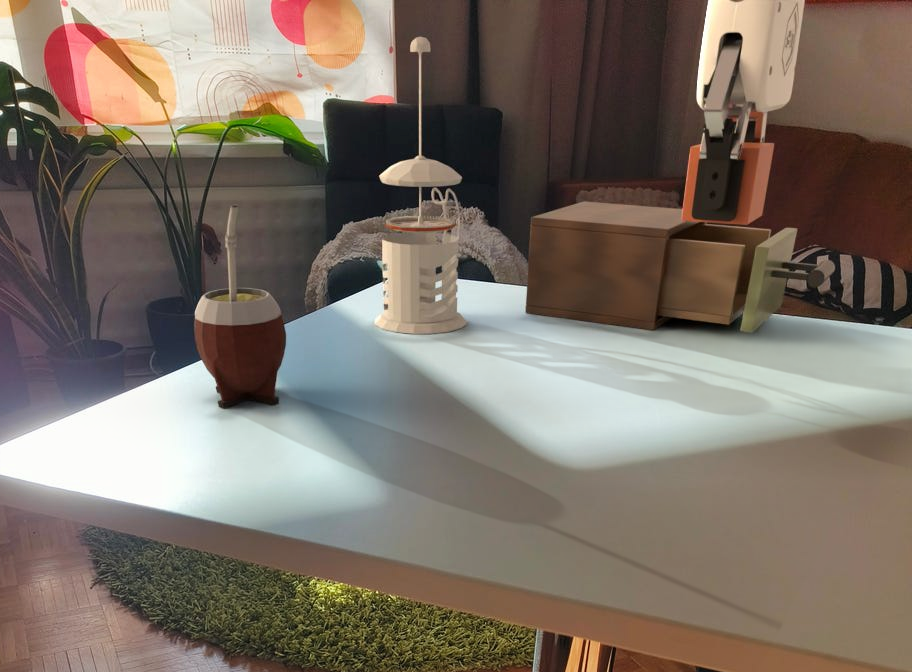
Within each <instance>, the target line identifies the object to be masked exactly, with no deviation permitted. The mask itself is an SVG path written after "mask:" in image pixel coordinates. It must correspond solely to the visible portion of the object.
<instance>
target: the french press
mask: <svg viewBox="0 0 912 672" xmlns="http://www.w3.org/2000/svg"><path fill="white" fill-rule="evenodd" d="M410 52H411V53H417V54H418V155H417V156H415V157H414V158H411V159H406V160H401V161H398V162H397V163H394V164H392V165H391V166H389V167H388V168H387V169H385V170H384V171H383V172H382V173H380V175H379V176H378V177H379V180H380V182H381V183H382V184H385V185H389V186H398V187H413V188H414V187H418V190H419V191H418V193H419V194H418V196H419V198H418V199H419V200H418V202H419V205H418V211H419V215H417V216H416V215H403V216H394V217H391V218H387V219H386V220H385V221H384V224H385V227H386V228H387V229H391V230H394V231H397V232H398V233H397V232H396V233H391V234H386V235H384V236H382V238H381V239H382V241H381V242H382V243H381V244H382V246H381V247H382V248H381V250H382V257H381V258H382V278H383V279H382V289H383V293H382V294H383V311H382V312H380V313H379V315H378V316H377V317H376V318H375V319H374V326H375V327H376V326H377V328H380V329H381V330H386V331H390V332H393V333H402V334H410V335H411V334H412V335H425V334H427V335H428V334H429V335H430V334H431V335H432V334H440V333H441V334H442V333H447V332H452V331H456V330H460V329H462V328H464V327H465V326H466V325H467V324H468V323H467V321H466V319H465V318H464V316H463V315H462V314H461V313H460V312H459V311H458V297H457V293H458V291H459V290H458V289H459V288H458V284H457V281H458V279H459V272H458V271H457V268H458V266H459V257H458V253H459V241H460V235H461V212H460V211H461V210H460V206H459V201H458V198H457V196H456V193H455V192H454V191H453V190H452V189H451V188H447V189H446V191H445V199H444V197H443V194H442V192H441V191H440V190H439V188H437V187H448V186H455V185H458V184H460V183H461V182H462V179H463V177H462V175H460V174H459V173H458V172H457V171H455V169H454V168H452V167H450V166H449V165H446V164H444V163H442V162H440V161H438V160H435V159H430V158H427V157H425V156H424V155H422V54H423V53H431V43H430V41H429V40H428V38H427V37H424V36H417V37H414V39H413V40H412V41H411V43H410ZM423 187H425V188H427V187H428V188H429V187H433V188H432V190H431V200H432V202H433V203H434V204H435V205H442V210H443V214H444V215H443V216H440V215H438V216H437V215H435V216H434V215H433V216H432V215H429V216H428V215H422V188H423ZM435 192H436V193H437V194H438V195H439V198H440V200H441V201H439V200H438V201H437V200H436V199H435ZM449 193H450V194H451V195H452V196H453V199H454V201H455V206H456V211H457V222H456V221H455V219H454V218H449V217H448V215H447V208H446V204H447V203H448V200H449ZM456 225H457V236H455V235H453V234H447V231H450V230H451V229H454V228H455V227H456ZM439 232H443V233H441V234H442V235H441V236H442V237H441V239H442V240H441V243H437V233H439ZM386 266H387V267H386ZM440 267H441V272H439V273H436V271H437V268H440ZM386 280H387V281H386ZM440 281H441V286H438V287H437V286H436V285H437V284H436V283H438V282H440ZM386 293H387V295H386ZM385 295H386V296H385ZM440 295H441V299H439V300H437V301H436V297H437V296H440Z"/></svg>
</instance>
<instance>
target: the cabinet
mask: <svg viewBox="0 0 912 672" xmlns="http://www.w3.org/2000/svg"><path fill="white" fill-rule="evenodd" d="M682 211H683V208H672V207H662V206H661V207H659V206H646V205H633V204H623V203H622V204H621V203H608V202H597V201H581V202H578V203H574V204H571V205H567V206H565V207H560V208H558V209H557V208H556V209H554V210H551V211H548V212H544V213H541V214H538V215H534V216H531V218H530V229H529V230H530V232H529V246H528V247H529V248H528V265H527V278H526V279H527V282H526V298H525V309H524V310H525V313H526V314H532V315H541V316H545V317H546V316H548V317H553V318H554V317H555V318H561V319H568V320H569V319H570V320H575V321H576V320H577V321H584V322H592V323H597V324H598V323H599V324H605V325H612V326H620V327H626V328H634V329H642V330H648V331H655V330H656V329H658V328H659V327H660V326H663V324H665V323H666V322H668V321H670V320H671V319H672V318H673V317H666V316H658V310H659V303H660V296H661V288H662V281H663V274H664V267H665V260H666V253H667V246H668V239H669V238H668V237H669V236H671V235H673V234H675V233H678V232H680V231H682V230H684V229H686V228H688V227H691V226H693V225H695V224H697V223H700V224H708V222H693V221H682V220H681V219H682Z"/></svg>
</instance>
